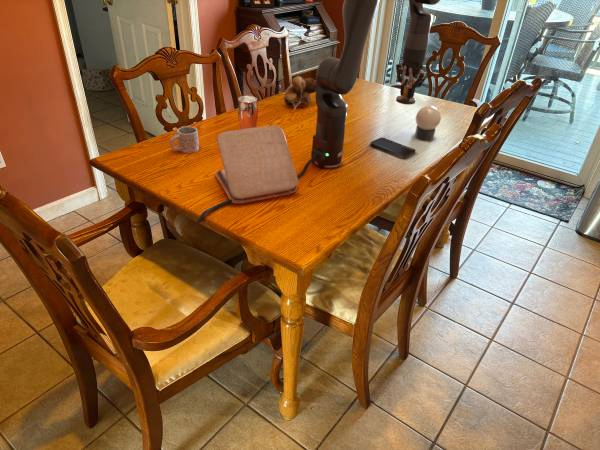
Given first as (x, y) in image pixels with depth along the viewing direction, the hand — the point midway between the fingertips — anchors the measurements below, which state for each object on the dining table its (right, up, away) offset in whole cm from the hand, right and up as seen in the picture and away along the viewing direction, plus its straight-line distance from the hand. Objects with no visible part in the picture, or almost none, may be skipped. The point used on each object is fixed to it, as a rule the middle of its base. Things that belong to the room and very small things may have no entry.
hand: (406, 96), depth 161 cm
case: (-52, -34, -26) cm, 67 cm away
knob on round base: (0, -1, +1) cm, 2 cm away
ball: (+10, -6, +6) cm, 13 cm away
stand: (+9, -12, +11) cm, 19 cm away
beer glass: (-57, -16, +1) cm, 59 cm away
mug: (-77, -21, -9) cm, 80 cm away
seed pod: (-39, +6, +34) cm, 52 cm away
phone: (-5, -19, 0) cm, 20 cm away
